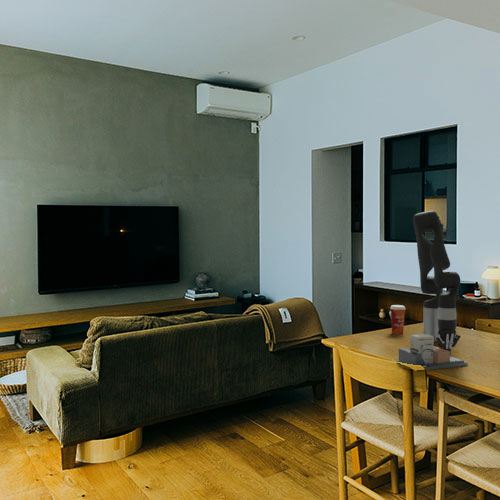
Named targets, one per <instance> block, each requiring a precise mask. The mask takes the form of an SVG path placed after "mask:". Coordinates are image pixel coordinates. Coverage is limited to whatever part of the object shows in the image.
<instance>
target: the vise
mask: <svg viewBox="0 0 500 500" xmlns="http://www.w3.org/2000/svg"><path fill="white" fill-rule="evenodd" d="M395 361H397V362H402V363H407V364H413V365H421V366H425V368H426V370H425V371H431V370H430V369H432V370H438V369H448V368H457V367H464V366H468V365H469V362H468V361H465V360H463V359H462V360H461V359H459V358H456V357H453V356H451V355H450V362H441V363H434V362H433V363H428V364H422V354H419V353H416V352H414V351H411V350H410V348H406V347H403V348H402V347H401V348H398V359H396V360H395Z"/></svg>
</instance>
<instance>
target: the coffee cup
mask: <svg viewBox="0 0 500 500" xmlns="http://www.w3.org/2000/svg"><path fill="white" fill-rule="evenodd" d="M389 309H390V319H391V320H390V321H391V333H392V334H396V335H401V334H404V331H405V330H404V328H405V313H406V307H405V305H401V304H392V305H391V306H390V308H389Z"/></svg>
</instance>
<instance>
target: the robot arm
mask: <svg viewBox="0 0 500 500" xmlns="http://www.w3.org/2000/svg"><path fill="white" fill-rule="evenodd" d="M412 221H413V228H414V233H415V238H416V247H417V259H418V266H419V276H420V290H421V292H422V294H425V295H435V297H433V298H431V299H427V300H424V302H423V303H422V304H423V306H422V307H423V309H422V310H423V313H422V314H423V316H422V317H423V319H422V321H423V322H422V327H423V328H422V334H429V335H431V336H434V343H436V345H437V346H438V348H441V349H444V350H447V351H450V356H451V355H452V354H451V353H452V352H451V351H452V348H454V347H456V345H457V344H458V342H459V341H460V339H461V335H460V334H458V333H457V330H456V329H457V296H458V291H459V288H460V285H461V276H460V275H459V273H458V272H457V271H445V270H448V269H449V268H450V267H451V262H450V258H449V255H448V253H447V250H446V246H445V241H444V236H443V231H442V226H441V221H440V219H439V215H438V213H437V212H436V210H428V211H423V212H418V213H416V214H414V215H413V218H412ZM432 231H434V236H433V237H434V238H433V240H432V241H431V240H429V239H428V238H427V237H426V236H425V235H424V233H427V232H432ZM432 270H433V275H432V276H430V275H429V273H430V272H431V271H432ZM444 289H447V291H446V292H444Z"/></svg>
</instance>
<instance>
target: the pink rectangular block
mask: <svg viewBox="0 0 500 500" xmlns="http://www.w3.org/2000/svg"><path fill="white" fill-rule="evenodd" d="M450 356H451V355H450V351H447V350H444V349H443V348H442V347H439V346H434V350H433V362H434V363H441V362H450Z"/></svg>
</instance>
